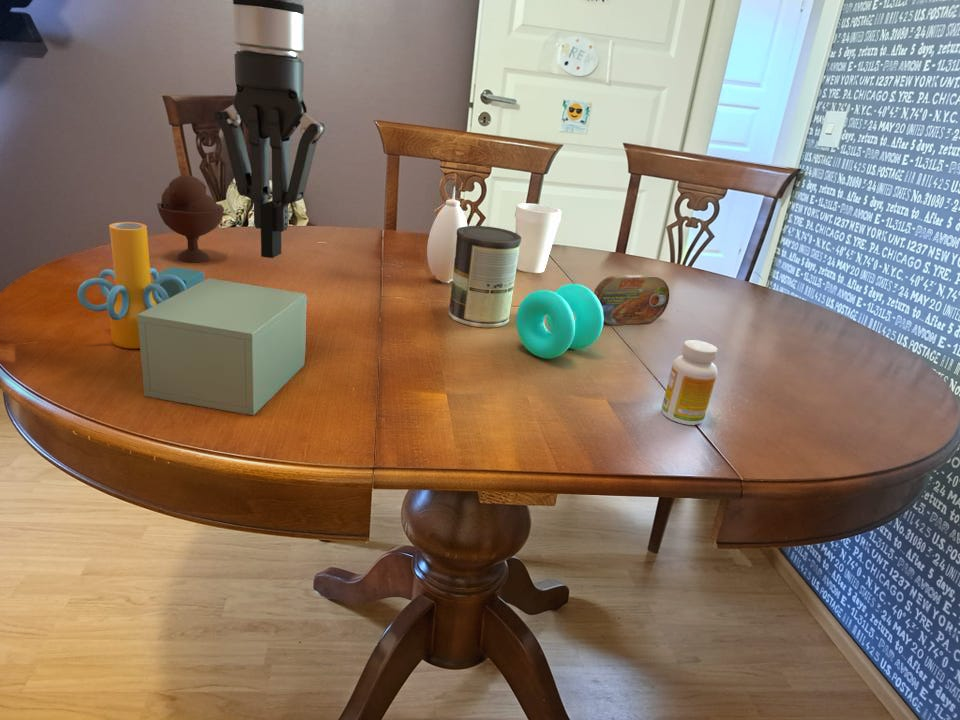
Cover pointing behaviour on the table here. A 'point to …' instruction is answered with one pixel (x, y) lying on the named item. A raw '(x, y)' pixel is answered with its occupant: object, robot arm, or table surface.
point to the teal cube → (185, 275)
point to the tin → (632, 299)
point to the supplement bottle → (690, 383)
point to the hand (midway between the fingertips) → (271, 254)
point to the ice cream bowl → (190, 214)
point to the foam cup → (535, 235)
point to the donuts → (559, 320)
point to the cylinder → (128, 283)
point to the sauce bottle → (445, 240)
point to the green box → (222, 345)
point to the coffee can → (483, 276)
